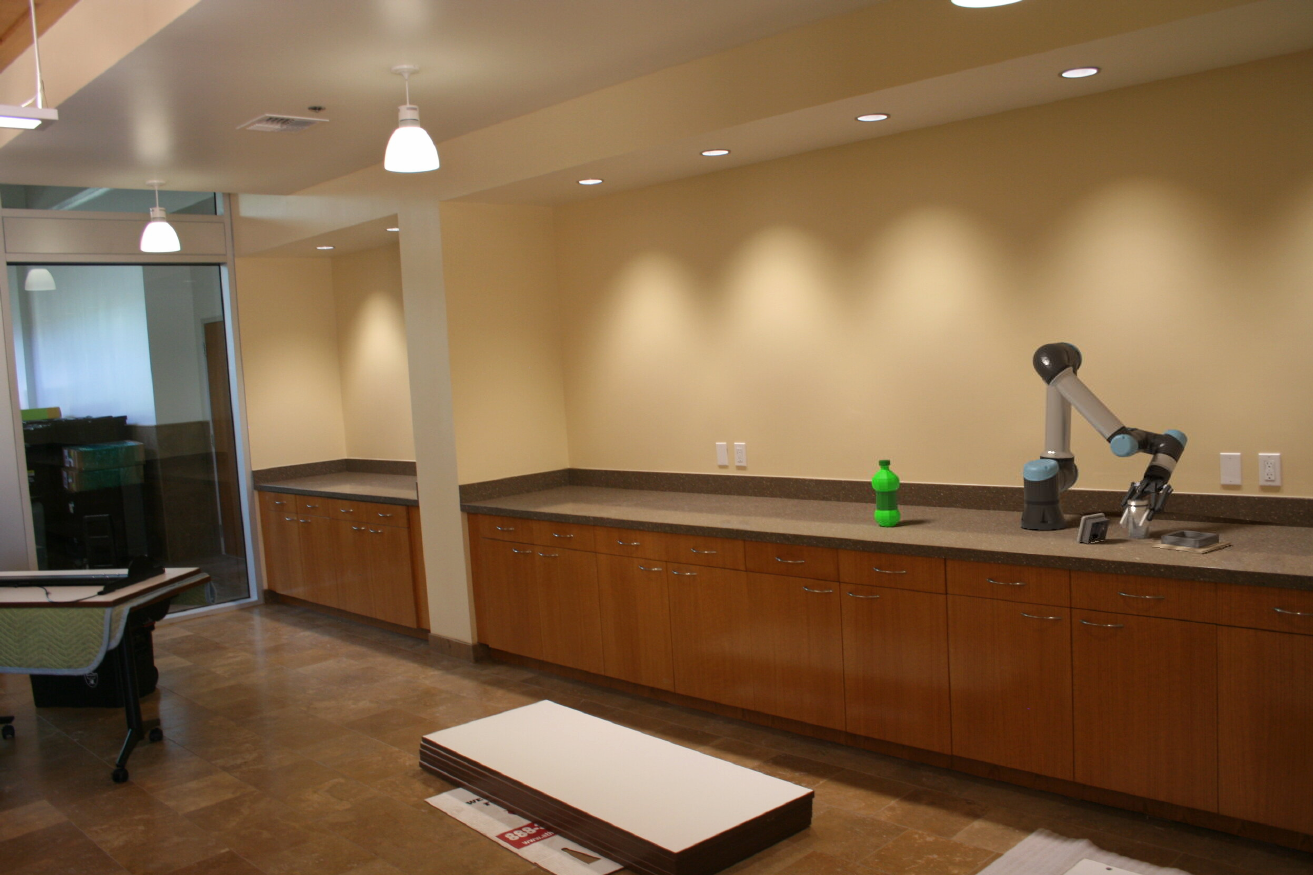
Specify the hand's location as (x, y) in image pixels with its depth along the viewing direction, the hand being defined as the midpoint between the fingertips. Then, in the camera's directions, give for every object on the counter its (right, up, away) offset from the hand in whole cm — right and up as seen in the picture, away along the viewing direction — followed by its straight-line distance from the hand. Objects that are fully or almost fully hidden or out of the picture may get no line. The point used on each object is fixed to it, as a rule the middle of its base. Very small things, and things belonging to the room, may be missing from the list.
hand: (1132, 526), depth 310 cm
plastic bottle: (-66, -5, +53) cm, 85 cm away
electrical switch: (-12, -5, 0) cm, 14 cm away
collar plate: (+10, -5, -16) cm, 19 cm away
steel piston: (+3, -4, +2) cm, 5 cm away
